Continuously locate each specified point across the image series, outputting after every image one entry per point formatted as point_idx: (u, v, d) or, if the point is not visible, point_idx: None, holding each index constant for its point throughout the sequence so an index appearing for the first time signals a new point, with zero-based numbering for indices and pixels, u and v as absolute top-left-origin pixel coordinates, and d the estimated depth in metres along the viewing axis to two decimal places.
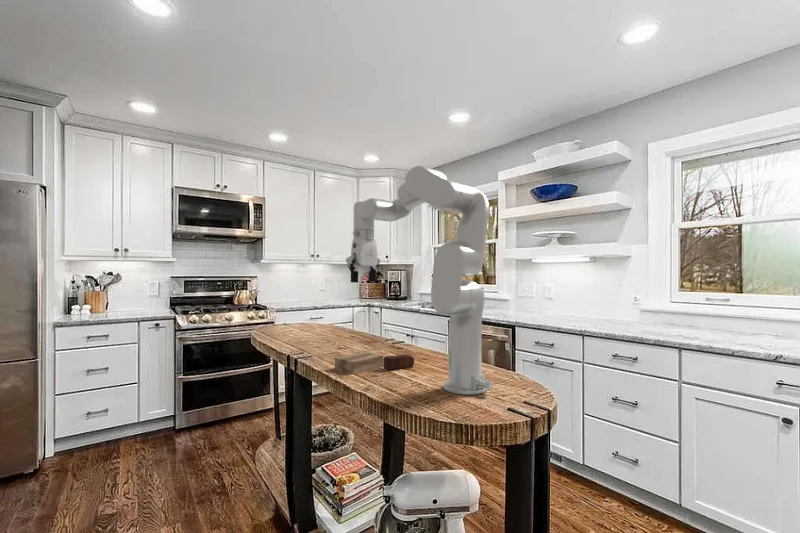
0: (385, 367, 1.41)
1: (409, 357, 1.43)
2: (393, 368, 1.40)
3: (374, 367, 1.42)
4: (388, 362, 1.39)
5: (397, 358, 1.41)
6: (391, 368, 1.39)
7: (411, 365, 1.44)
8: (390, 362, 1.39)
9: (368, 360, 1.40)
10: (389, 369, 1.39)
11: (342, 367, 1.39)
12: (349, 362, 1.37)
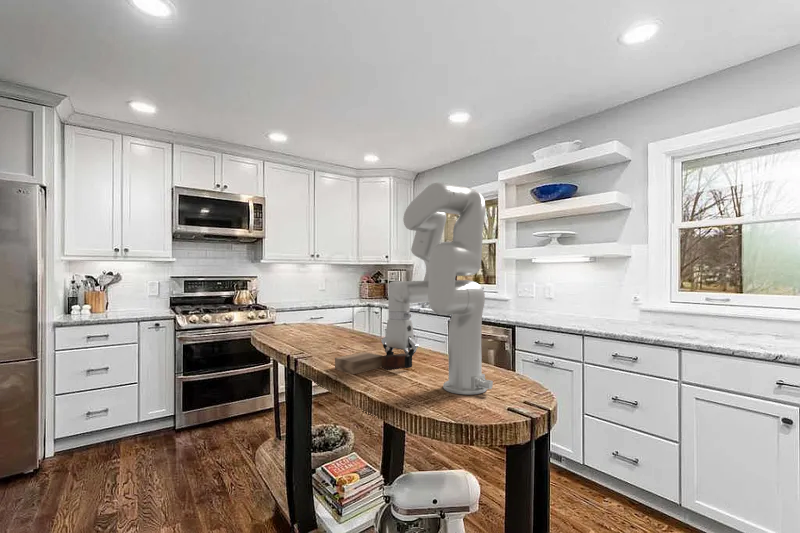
0: (383, 366, 1.42)
1: None
2: (391, 367, 1.41)
3: (374, 367, 1.42)
4: (385, 361, 1.41)
5: (395, 357, 1.42)
6: (389, 367, 1.40)
7: None
8: (387, 361, 1.40)
9: (368, 360, 1.40)
10: (387, 368, 1.40)
11: (342, 367, 1.39)
12: (349, 362, 1.37)
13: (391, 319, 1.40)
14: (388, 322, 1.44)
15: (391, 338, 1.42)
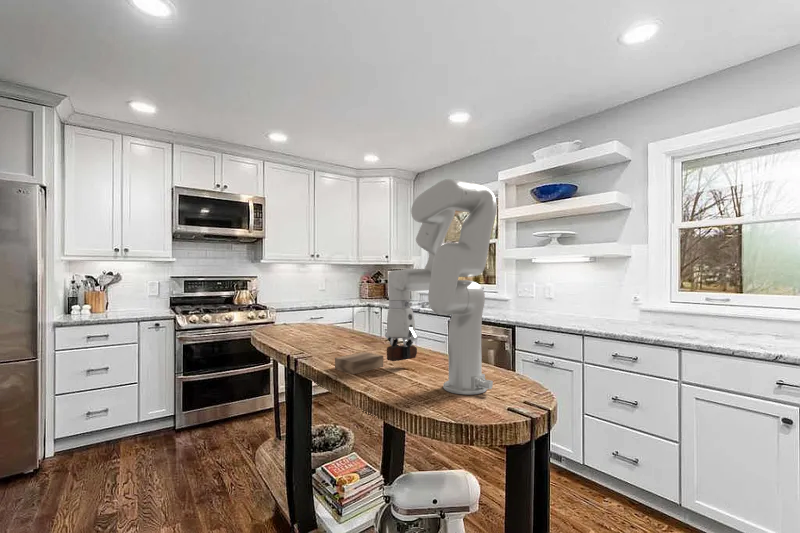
0: (388, 357, 1.40)
1: (412, 347, 1.43)
2: (397, 358, 1.39)
3: (374, 367, 1.42)
4: (391, 352, 1.38)
5: (400, 348, 1.40)
6: (395, 358, 1.38)
7: (414, 355, 1.43)
8: (393, 352, 1.38)
9: (368, 360, 1.40)
10: (393, 359, 1.38)
11: (342, 367, 1.39)
12: (349, 362, 1.37)
13: (392, 308, 1.40)
14: (389, 312, 1.43)
15: (392, 327, 1.42)
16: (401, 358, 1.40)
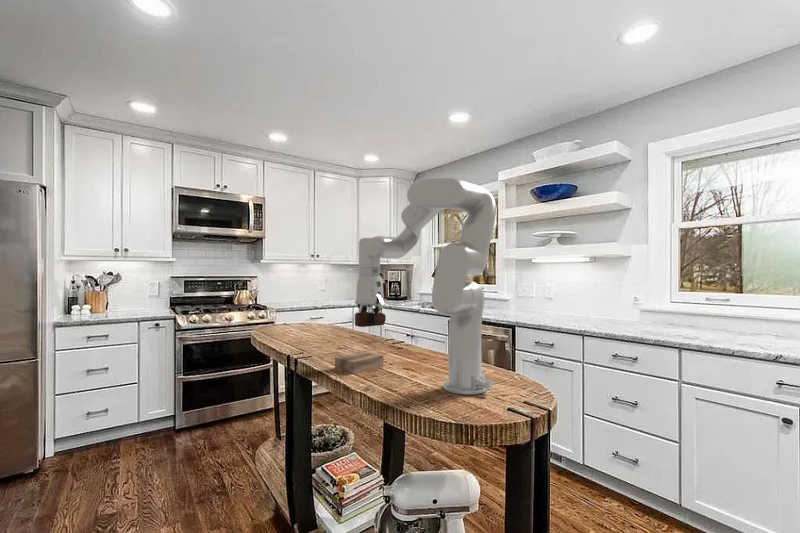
0: (356, 323, 1.42)
1: (380, 314, 1.45)
2: (364, 324, 1.41)
3: (374, 367, 1.42)
4: (359, 317, 1.40)
5: (368, 314, 1.42)
6: (362, 324, 1.40)
7: (382, 322, 1.45)
8: (361, 318, 1.40)
9: (368, 360, 1.40)
10: (360, 324, 1.40)
11: (342, 367, 1.39)
12: (349, 362, 1.37)
13: (361, 275, 1.41)
14: (358, 279, 1.45)
15: (361, 294, 1.43)
16: (369, 324, 1.42)
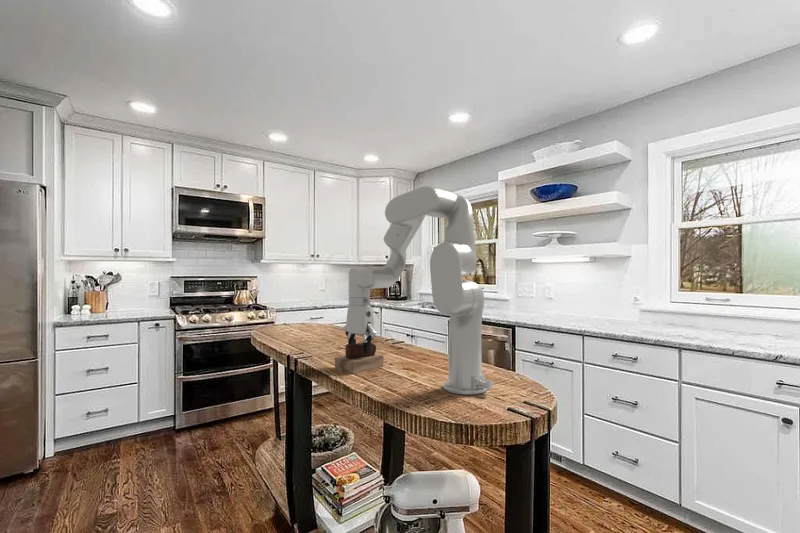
0: (347, 355, 1.41)
1: (371, 345, 1.45)
2: (355, 355, 1.40)
3: (374, 367, 1.42)
4: (350, 349, 1.40)
5: (359, 346, 1.41)
6: (353, 356, 1.40)
7: (373, 352, 1.45)
8: (352, 349, 1.39)
9: (368, 360, 1.40)
10: (351, 356, 1.40)
11: (342, 367, 1.39)
12: (349, 362, 1.37)
13: (351, 305, 1.41)
14: (348, 308, 1.44)
15: (351, 323, 1.43)
16: (359, 356, 1.41)
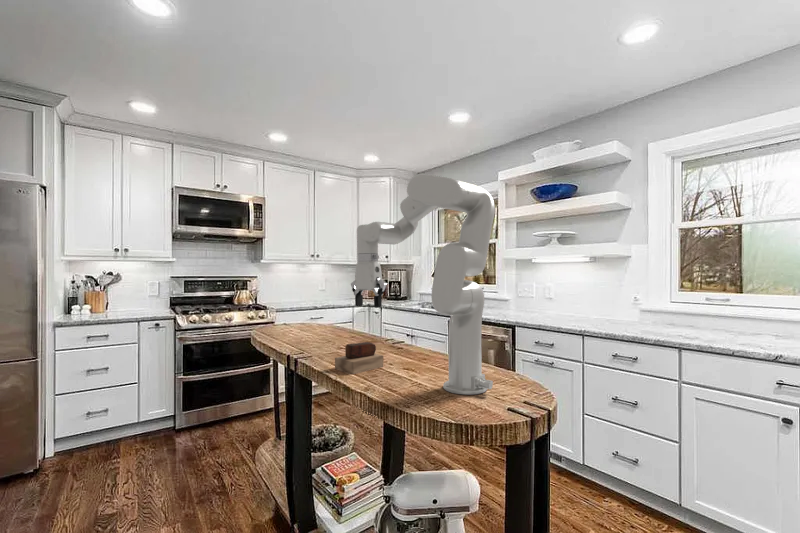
0: (347, 355, 1.41)
1: (371, 344, 1.45)
2: (355, 355, 1.40)
3: (374, 367, 1.42)
4: (350, 349, 1.40)
5: (359, 345, 1.42)
6: (353, 356, 1.40)
7: (373, 352, 1.45)
8: (352, 349, 1.40)
9: (368, 360, 1.40)
10: (351, 356, 1.40)
11: (342, 367, 1.39)
12: (349, 362, 1.37)
13: (359, 261, 1.43)
14: (357, 265, 1.46)
15: (360, 280, 1.45)
16: (359, 356, 1.42)
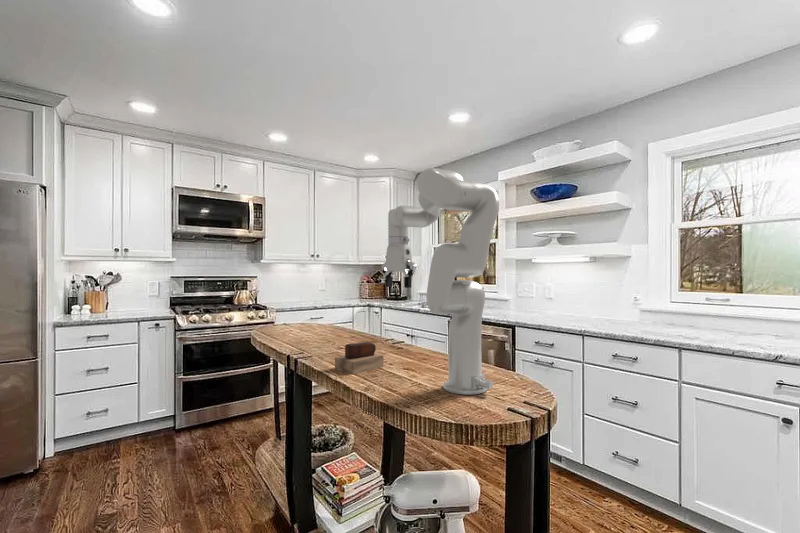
0: (347, 355, 1.41)
1: (370, 344, 1.45)
2: (355, 355, 1.40)
3: (374, 367, 1.42)
4: (349, 349, 1.40)
5: (359, 345, 1.42)
6: (353, 356, 1.40)
7: (372, 352, 1.45)
8: (351, 349, 1.40)
9: (368, 360, 1.40)
10: (351, 356, 1.40)
11: (342, 367, 1.39)
12: (349, 362, 1.37)
13: (391, 243, 1.51)
14: (388, 248, 1.54)
15: (390, 262, 1.52)
16: (359, 356, 1.42)
